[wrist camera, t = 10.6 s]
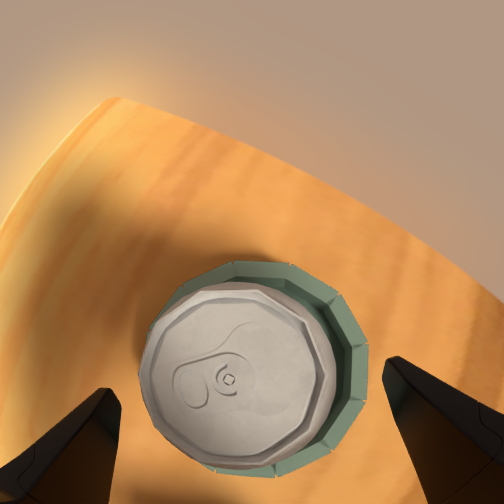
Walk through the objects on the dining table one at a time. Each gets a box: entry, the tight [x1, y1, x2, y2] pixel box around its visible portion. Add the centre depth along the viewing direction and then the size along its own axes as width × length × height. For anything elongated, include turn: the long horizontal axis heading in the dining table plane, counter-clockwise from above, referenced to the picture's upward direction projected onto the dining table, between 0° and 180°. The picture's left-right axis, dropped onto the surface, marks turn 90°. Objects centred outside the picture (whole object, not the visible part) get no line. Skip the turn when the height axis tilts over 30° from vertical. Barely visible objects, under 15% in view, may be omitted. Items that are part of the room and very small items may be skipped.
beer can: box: [138, 282, 336, 470], centre depth 11 cm, size 5×5×12 cm
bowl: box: [145, 260, 368, 478], centre depth 16 cm, size 13×13×3 cm
